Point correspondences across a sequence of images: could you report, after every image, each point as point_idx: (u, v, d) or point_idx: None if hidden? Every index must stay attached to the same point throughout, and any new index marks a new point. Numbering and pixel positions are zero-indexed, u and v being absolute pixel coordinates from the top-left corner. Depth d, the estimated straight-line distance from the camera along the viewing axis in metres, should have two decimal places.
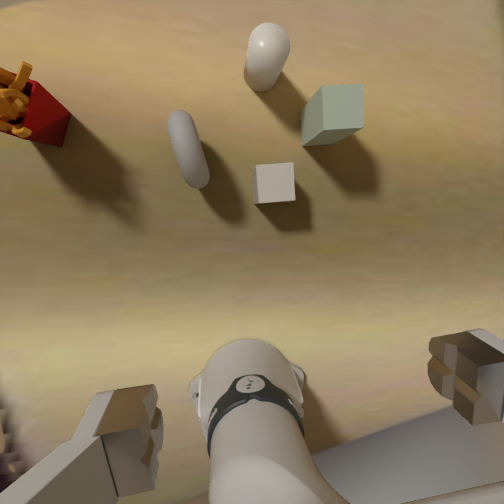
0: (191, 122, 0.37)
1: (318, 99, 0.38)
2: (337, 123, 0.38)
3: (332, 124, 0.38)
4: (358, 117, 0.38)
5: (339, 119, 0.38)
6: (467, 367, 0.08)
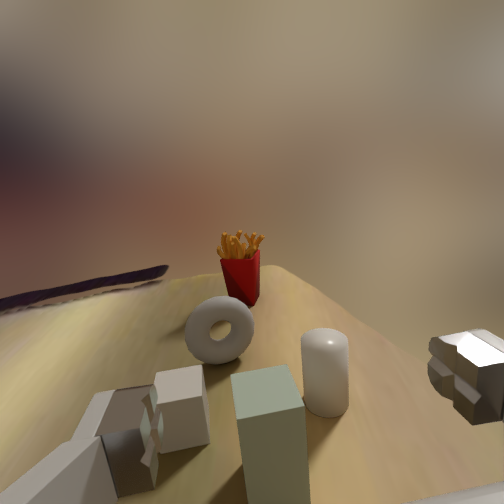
0: (237, 308, 0.42)
1: None
2: (240, 386, 0.25)
3: (238, 381, 0.26)
4: (251, 409, 0.23)
5: (246, 387, 0.25)
6: (467, 367, 0.08)
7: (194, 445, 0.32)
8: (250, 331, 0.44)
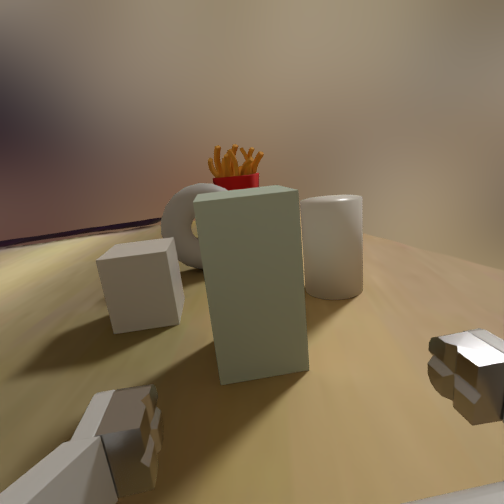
0: None
1: None
2: (207, 195, 0.18)
3: (206, 194, 0.18)
4: (218, 198, 0.15)
5: (215, 194, 0.17)
6: (467, 367, 0.08)
7: (158, 325, 0.24)
8: None
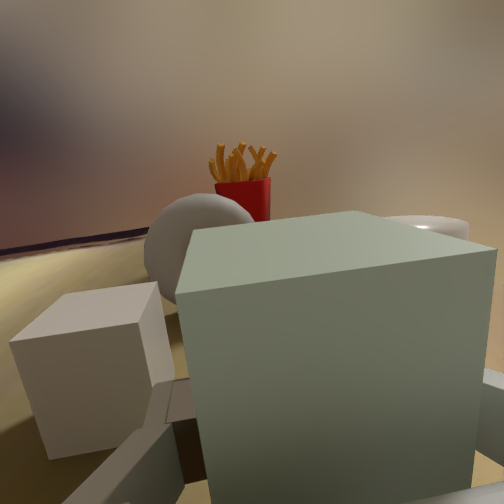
0: (233, 211, 0.25)
1: None
2: (216, 239, 0.08)
3: (212, 234, 0.08)
4: (252, 269, 0.05)
5: (235, 239, 0.07)
6: None
7: None
8: None
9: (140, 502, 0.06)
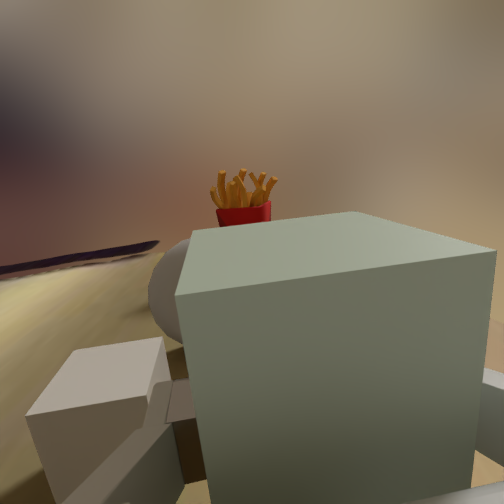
0: None
1: None
2: (216, 240, 0.08)
3: (212, 235, 0.08)
4: (252, 270, 0.05)
5: (234, 240, 0.07)
6: None
7: None
8: None
9: (140, 502, 0.06)
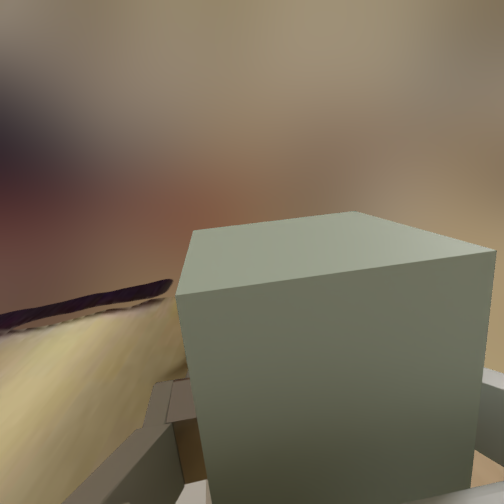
0: None
1: None
2: (216, 240, 0.08)
3: (212, 235, 0.08)
4: (252, 270, 0.05)
5: (235, 240, 0.07)
6: None
7: None
8: None
9: (140, 502, 0.06)
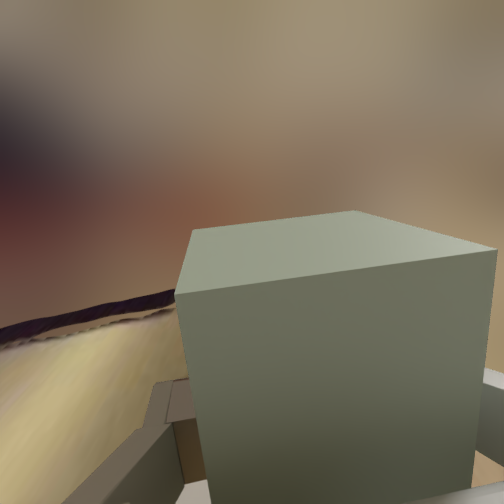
0: None
1: None
2: (216, 239, 0.08)
3: (212, 234, 0.08)
4: (252, 269, 0.05)
5: (234, 239, 0.07)
6: None
7: None
8: None
9: (140, 502, 0.06)
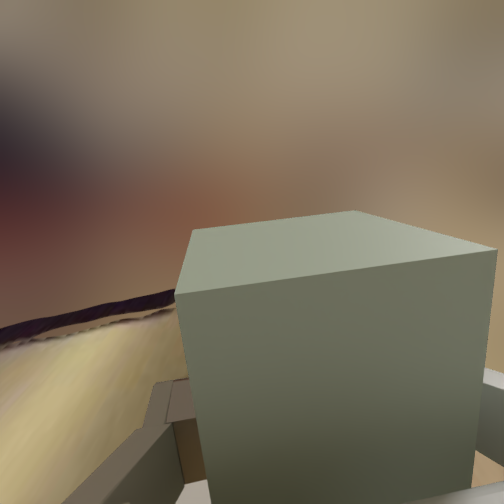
0: None
1: None
2: (216, 239, 0.08)
3: (212, 234, 0.08)
4: (252, 269, 0.05)
5: (234, 239, 0.07)
6: None
7: None
8: None
9: (140, 502, 0.06)
